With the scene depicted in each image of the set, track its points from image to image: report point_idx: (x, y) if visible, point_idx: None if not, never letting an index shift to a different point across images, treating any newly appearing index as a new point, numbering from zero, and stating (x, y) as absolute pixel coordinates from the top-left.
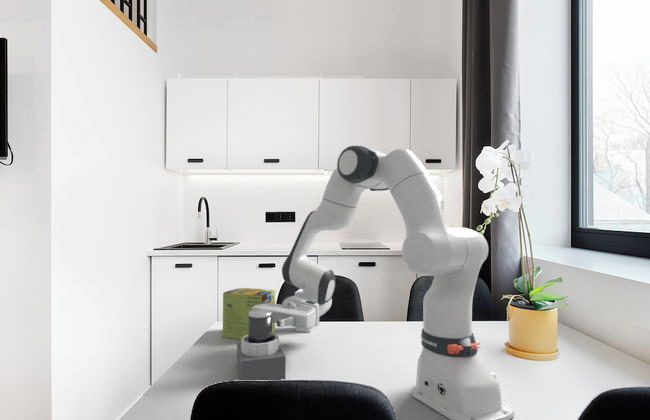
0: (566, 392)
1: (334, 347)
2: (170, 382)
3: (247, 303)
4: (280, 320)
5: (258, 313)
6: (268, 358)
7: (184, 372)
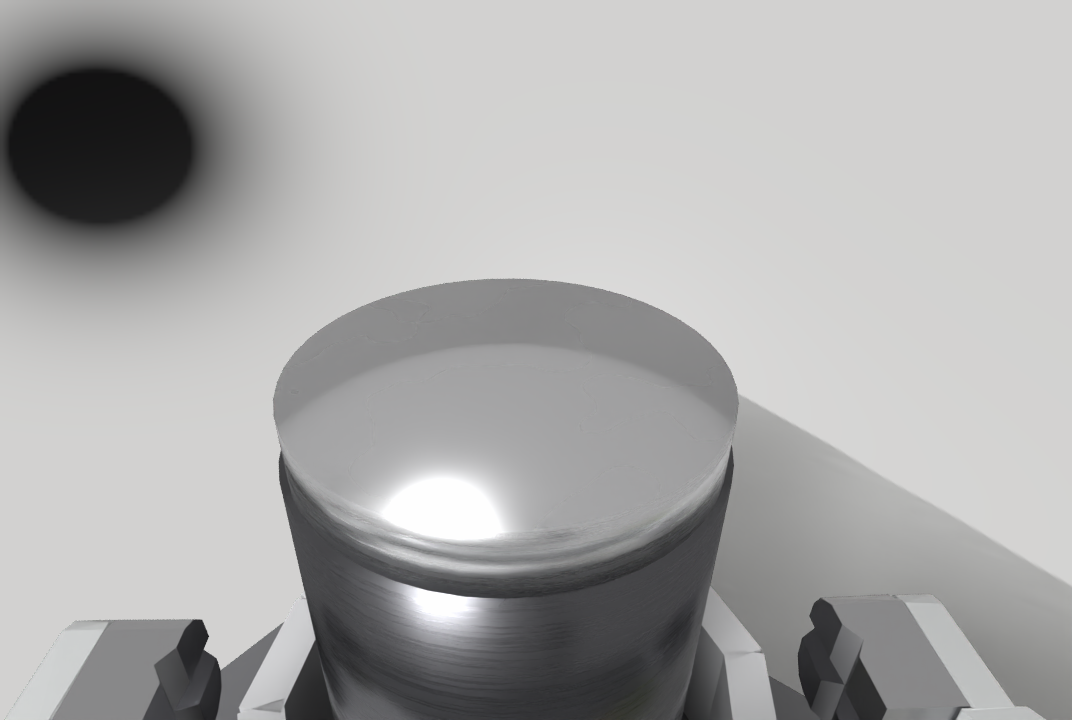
0: None
1: None
2: (809, 470)
3: None
4: (103, 627)
5: (467, 319)
6: (272, 632)
7: (918, 560)
